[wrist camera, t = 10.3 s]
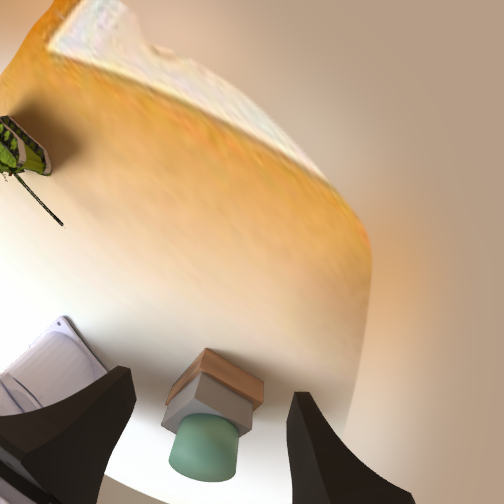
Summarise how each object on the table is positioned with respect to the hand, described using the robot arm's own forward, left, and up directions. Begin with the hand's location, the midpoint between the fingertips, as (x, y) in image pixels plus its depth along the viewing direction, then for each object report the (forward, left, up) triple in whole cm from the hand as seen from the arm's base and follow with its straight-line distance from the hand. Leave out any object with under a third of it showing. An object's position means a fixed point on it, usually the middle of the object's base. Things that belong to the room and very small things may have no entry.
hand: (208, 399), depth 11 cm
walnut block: (-6, -6, -11) cm, 14 cm away
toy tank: (-10, +20, -11) cm, 25 cm away
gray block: (-6, -6, -8) cm, 11 cm away
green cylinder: (-6, -6, -5) cm, 10 cm away
